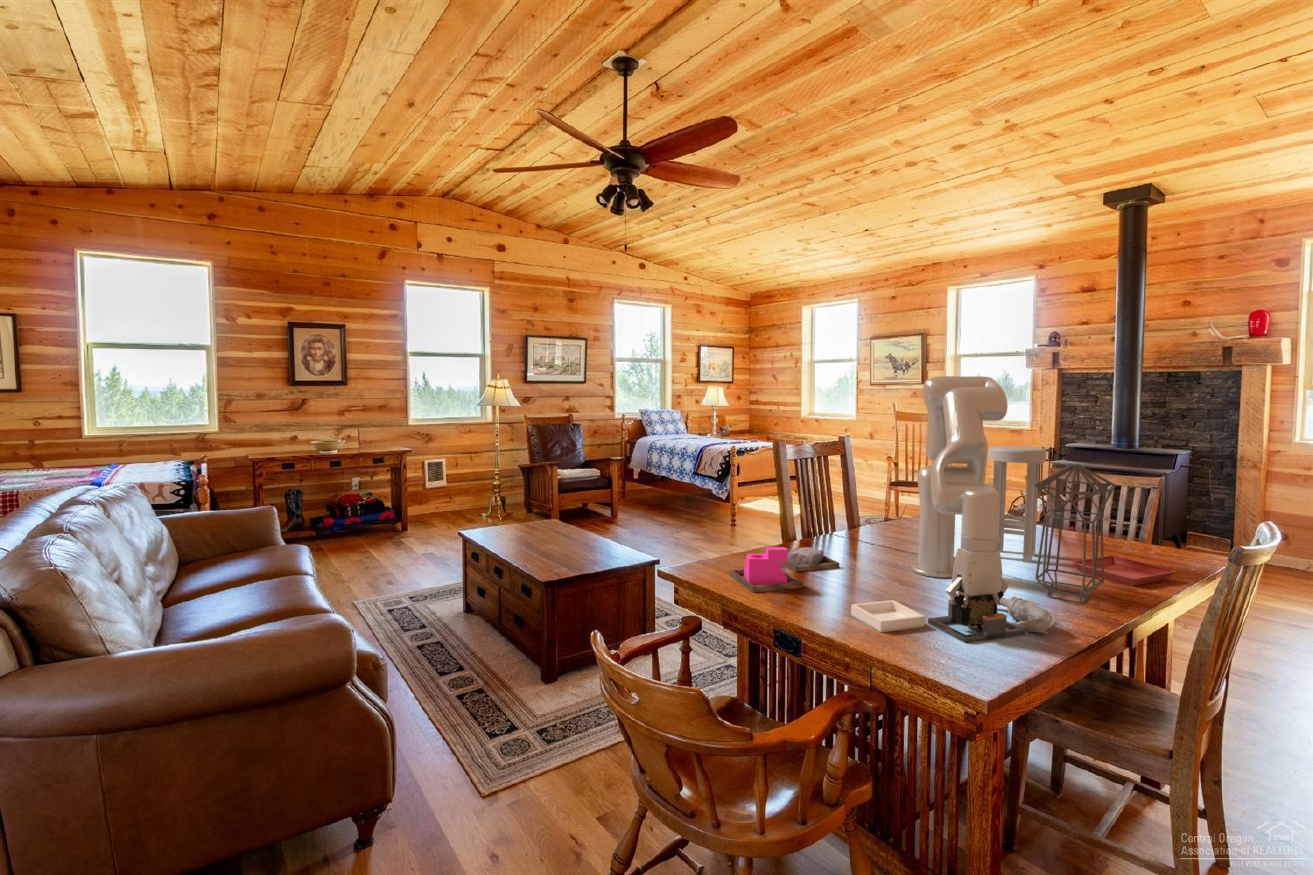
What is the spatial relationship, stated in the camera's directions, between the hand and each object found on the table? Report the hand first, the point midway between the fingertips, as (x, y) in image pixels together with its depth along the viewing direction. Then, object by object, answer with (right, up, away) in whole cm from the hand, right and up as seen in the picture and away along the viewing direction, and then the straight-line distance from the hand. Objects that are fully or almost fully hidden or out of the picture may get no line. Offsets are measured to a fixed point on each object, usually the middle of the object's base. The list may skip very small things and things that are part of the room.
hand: (976, 621), depth 145 cm
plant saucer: (+62, +1, +41) cm, 74 cm away
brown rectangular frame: (-26, +3, +55) cm, 61 cm away
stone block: (-27, +3, +55) cm, 61 cm away
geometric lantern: (+34, 0, +21) cm, 41 cm away
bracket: (-42, +1, +36) cm, 55 cm away
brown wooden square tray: (-42, +1, +36) cm, 55 cm away
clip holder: (0, -2, 0) cm, 2 cm away
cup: (0, -2, 0) cm, 2 cm away
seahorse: (+12, -2, +5) cm, 13 cm away
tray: (-18, -1, +5) cm, 19 cm away
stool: (+42, +3, +62) cm, 75 cm away
